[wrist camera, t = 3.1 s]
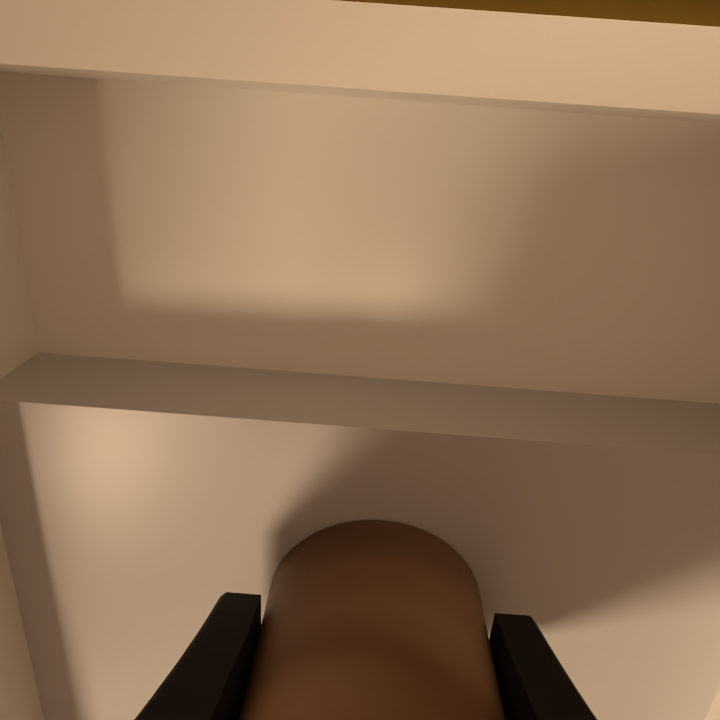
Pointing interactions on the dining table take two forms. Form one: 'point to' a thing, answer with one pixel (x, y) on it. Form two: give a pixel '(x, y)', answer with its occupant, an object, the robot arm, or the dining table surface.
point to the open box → (356, 327)
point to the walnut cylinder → (373, 632)
